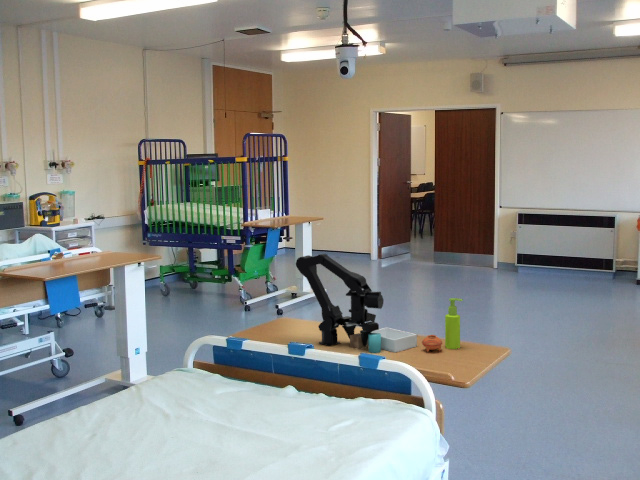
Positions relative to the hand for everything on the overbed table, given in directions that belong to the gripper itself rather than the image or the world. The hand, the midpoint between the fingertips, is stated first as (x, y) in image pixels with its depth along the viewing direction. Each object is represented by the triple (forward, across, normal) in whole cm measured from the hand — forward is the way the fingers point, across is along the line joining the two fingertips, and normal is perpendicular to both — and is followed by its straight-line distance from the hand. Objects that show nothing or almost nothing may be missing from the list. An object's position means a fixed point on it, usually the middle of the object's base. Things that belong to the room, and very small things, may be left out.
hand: (358, 344), depth 265 cm
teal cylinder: (+1, -10, 0) cm, 10 cm away
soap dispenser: (+1, -28, -27) cm, 39 cm away
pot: (+1, -24, -17) cm, 30 cm away
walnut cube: (+1, 0, 0) cm, 1 cm away
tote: (+1, -8, -11) cm, 13 cm away
